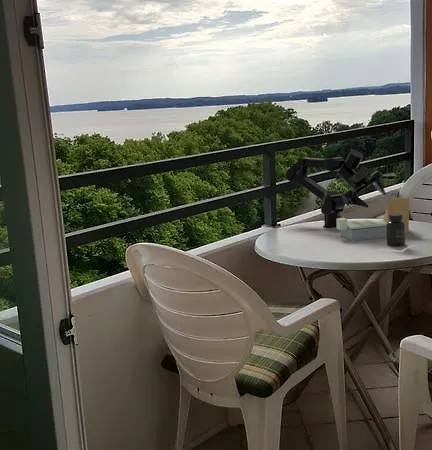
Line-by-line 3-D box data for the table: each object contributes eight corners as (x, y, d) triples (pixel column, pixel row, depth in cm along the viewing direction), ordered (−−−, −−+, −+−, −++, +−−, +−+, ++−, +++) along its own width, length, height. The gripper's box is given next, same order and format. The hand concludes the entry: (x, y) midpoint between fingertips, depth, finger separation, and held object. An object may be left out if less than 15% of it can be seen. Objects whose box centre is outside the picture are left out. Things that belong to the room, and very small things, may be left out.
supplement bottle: (405, 244, 243) (406, 212, 240) (404, 248, 236) (405, 216, 234) (387, 243, 245) (387, 212, 243) (385, 247, 238) (385, 216, 236)
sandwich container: (401, 226, 274) (401, 192, 272) (409, 234, 259) (409, 197, 257) (380, 227, 275) (380, 192, 272) (387, 235, 260) (387, 198, 257)
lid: (343, 231, 248) (343, 221, 248) (332, 227, 258) (332, 217, 257) (389, 226, 253) (389, 216, 252) (376, 222, 263) (376, 212, 262)
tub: (352, 242, 250) (351, 230, 249) (340, 237, 260) (340, 225, 259) (389, 238, 254) (389, 226, 253) (376, 233, 264) (376, 221, 263)
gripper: (333, 178, 260) (358, 201, 252) (368, 153, 263) (395, 176, 255) (334, 194, 269) (359, 217, 261) (368, 170, 273) (394, 192, 264)
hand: (376, 200), depth 260 cm, fingers open, 9 cm apart
